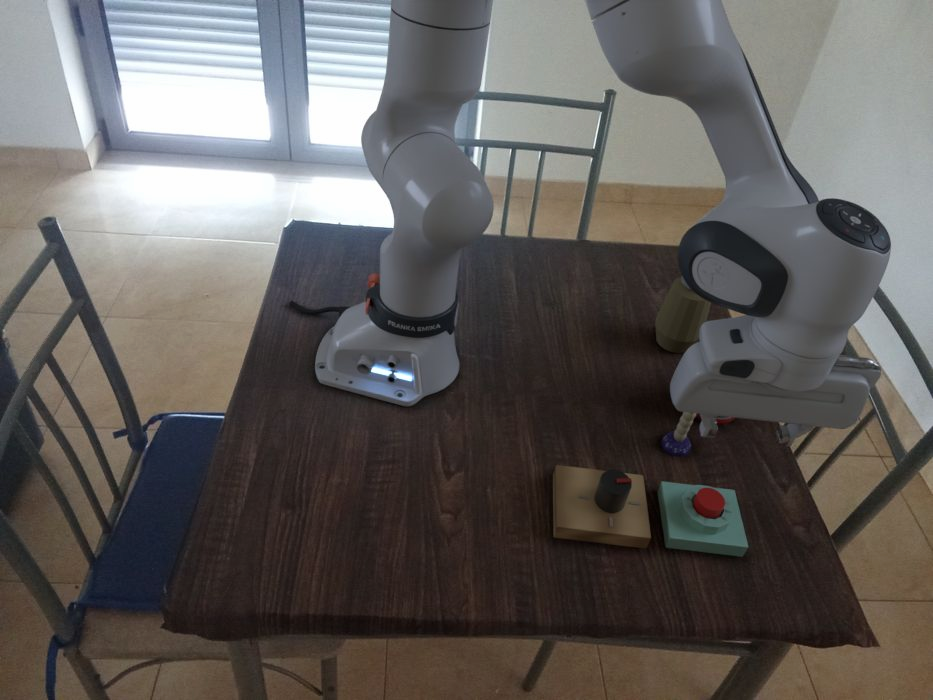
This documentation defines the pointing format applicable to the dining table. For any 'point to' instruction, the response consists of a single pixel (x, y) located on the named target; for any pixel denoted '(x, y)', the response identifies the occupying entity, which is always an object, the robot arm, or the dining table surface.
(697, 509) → the power button
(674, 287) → the squeeze bottle
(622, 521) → the dimmer panel
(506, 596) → the dining table surface
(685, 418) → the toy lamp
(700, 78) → the robot arm
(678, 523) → the switch block
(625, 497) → the dimmer knob
